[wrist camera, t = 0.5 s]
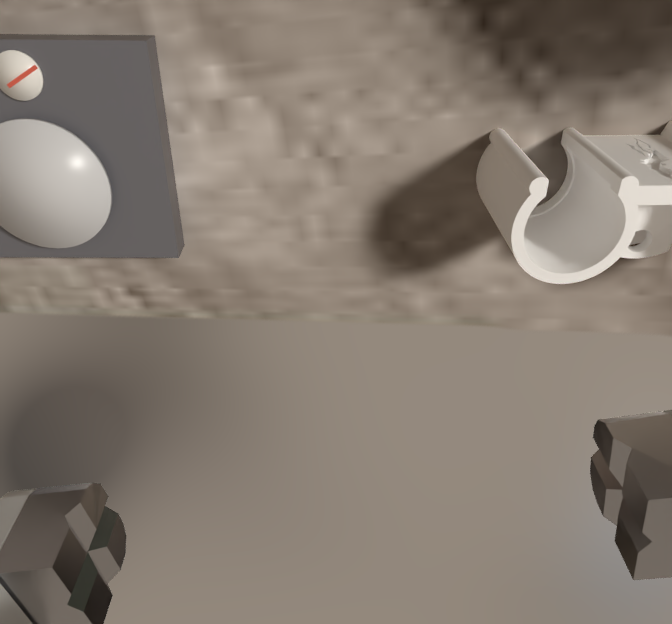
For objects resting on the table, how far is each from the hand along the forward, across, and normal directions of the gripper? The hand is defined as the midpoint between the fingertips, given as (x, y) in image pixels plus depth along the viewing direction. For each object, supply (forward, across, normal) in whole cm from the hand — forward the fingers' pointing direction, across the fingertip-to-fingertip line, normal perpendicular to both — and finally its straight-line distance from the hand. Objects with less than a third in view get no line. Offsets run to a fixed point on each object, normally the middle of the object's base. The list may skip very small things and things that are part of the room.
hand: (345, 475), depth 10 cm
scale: (+44, +25, +5) cm, 50 cm away
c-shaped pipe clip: (+44, -23, +15) cm, 52 cm away
